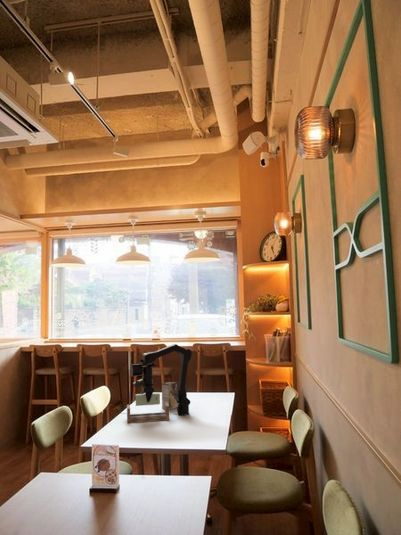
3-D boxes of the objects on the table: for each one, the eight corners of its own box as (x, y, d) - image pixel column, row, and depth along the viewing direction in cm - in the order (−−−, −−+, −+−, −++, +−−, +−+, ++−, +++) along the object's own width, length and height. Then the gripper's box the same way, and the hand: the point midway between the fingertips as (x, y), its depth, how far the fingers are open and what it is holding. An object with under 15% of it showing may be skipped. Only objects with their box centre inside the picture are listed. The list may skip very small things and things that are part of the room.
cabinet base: (167, 416, 254) (167, 402, 255) (169, 420, 244) (169, 406, 245) (127, 418, 250) (127, 404, 251) (127, 423, 240) (127, 408, 241)
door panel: (159, 403, 251) (159, 392, 251) (159, 404, 248) (159, 393, 248) (135, 404, 248) (135, 394, 249) (135, 405, 245) (135, 395, 246)
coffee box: (171, 406, 282) (170, 381, 284) (178, 407, 278) (178, 382, 280) (161, 408, 275) (161, 383, 276) (169, 409, 271) (168, 384, 273)
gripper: (133, 373, 258) (133, 399, 256) (134, 377, 239) (134, 406, 238) (151, 372, 260) (152, 398, 258) (154, 376, 241) (154, 404, 240)
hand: (148, 401), depth 248 cm, fingers closed on door panel, 3 cm apart
